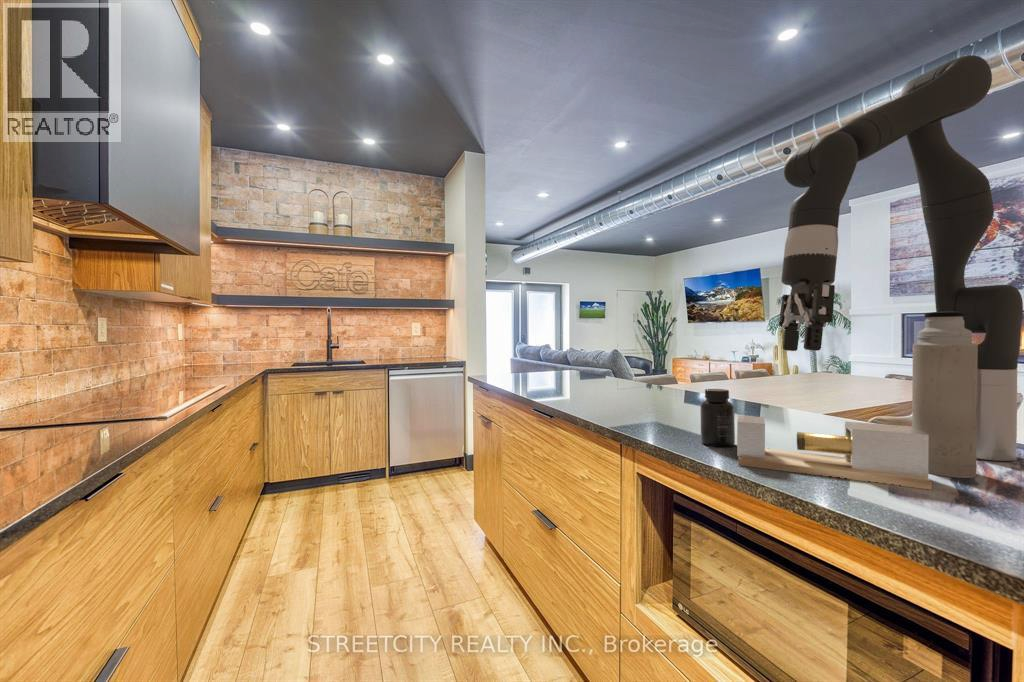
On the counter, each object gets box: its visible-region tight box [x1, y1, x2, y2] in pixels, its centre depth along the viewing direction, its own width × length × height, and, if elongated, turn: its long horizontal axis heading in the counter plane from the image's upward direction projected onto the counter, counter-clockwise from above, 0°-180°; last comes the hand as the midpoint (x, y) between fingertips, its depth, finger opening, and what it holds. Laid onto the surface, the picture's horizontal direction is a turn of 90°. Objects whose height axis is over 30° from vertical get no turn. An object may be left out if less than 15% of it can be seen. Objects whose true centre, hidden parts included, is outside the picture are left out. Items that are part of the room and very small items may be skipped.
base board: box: [738, 448, 933, 490], centre depth 77 cm, size 10×26×1 cm, turn 61°
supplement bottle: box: [699, 388, 736, 448], centre depth 94 cm, size 7×7×12 cm
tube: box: [796, 431, 851, 456], centre depth 75 cm, size 16×3×3 cm, turn 61°
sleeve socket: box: [736, 414, 929, 479], centre depth 77 cm, size 7×27×7 cm, turn 61°
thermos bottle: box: [911, 311, 978, 479], centre depth 75 cm, size 8×8×28 cm
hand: (800, 350), depth 73 cm, fingers open, 8 cm apart
